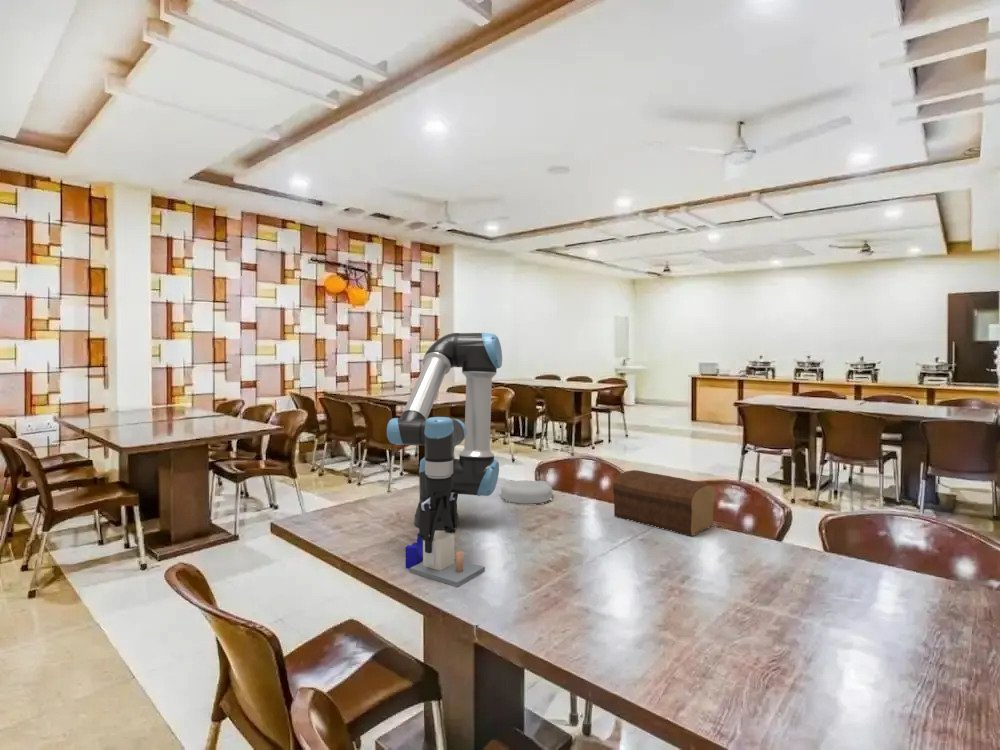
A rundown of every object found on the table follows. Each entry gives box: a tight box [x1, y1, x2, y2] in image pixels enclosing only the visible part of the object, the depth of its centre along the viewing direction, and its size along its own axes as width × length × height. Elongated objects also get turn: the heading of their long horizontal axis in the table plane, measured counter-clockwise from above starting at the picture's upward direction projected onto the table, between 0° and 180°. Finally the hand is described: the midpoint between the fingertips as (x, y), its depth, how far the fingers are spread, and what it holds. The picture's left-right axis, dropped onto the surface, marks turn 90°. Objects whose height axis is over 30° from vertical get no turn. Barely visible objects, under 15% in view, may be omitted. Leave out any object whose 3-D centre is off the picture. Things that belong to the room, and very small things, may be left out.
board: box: [409, 550, 486, 588], centre depth 150 cm, size 12×16×6 cm
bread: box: [612, 469, 717, 537], centre depth 195 cm, size 18×30×16 cm, turn 44°
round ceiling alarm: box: [500, 479, 553, 505], centre depth 224 cm, size 25×25×6 cm
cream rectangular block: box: [422, 529, 455, 571], centre depth 152 cm, size 6×6×8 cm
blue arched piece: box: [405, 532, 423, 570], centre depth 158 cm, size 12×4×6 cm, turn 171°
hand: (438, 559), depth 152 cm, fingers closed on cream rectangular block, 6 cm apart
